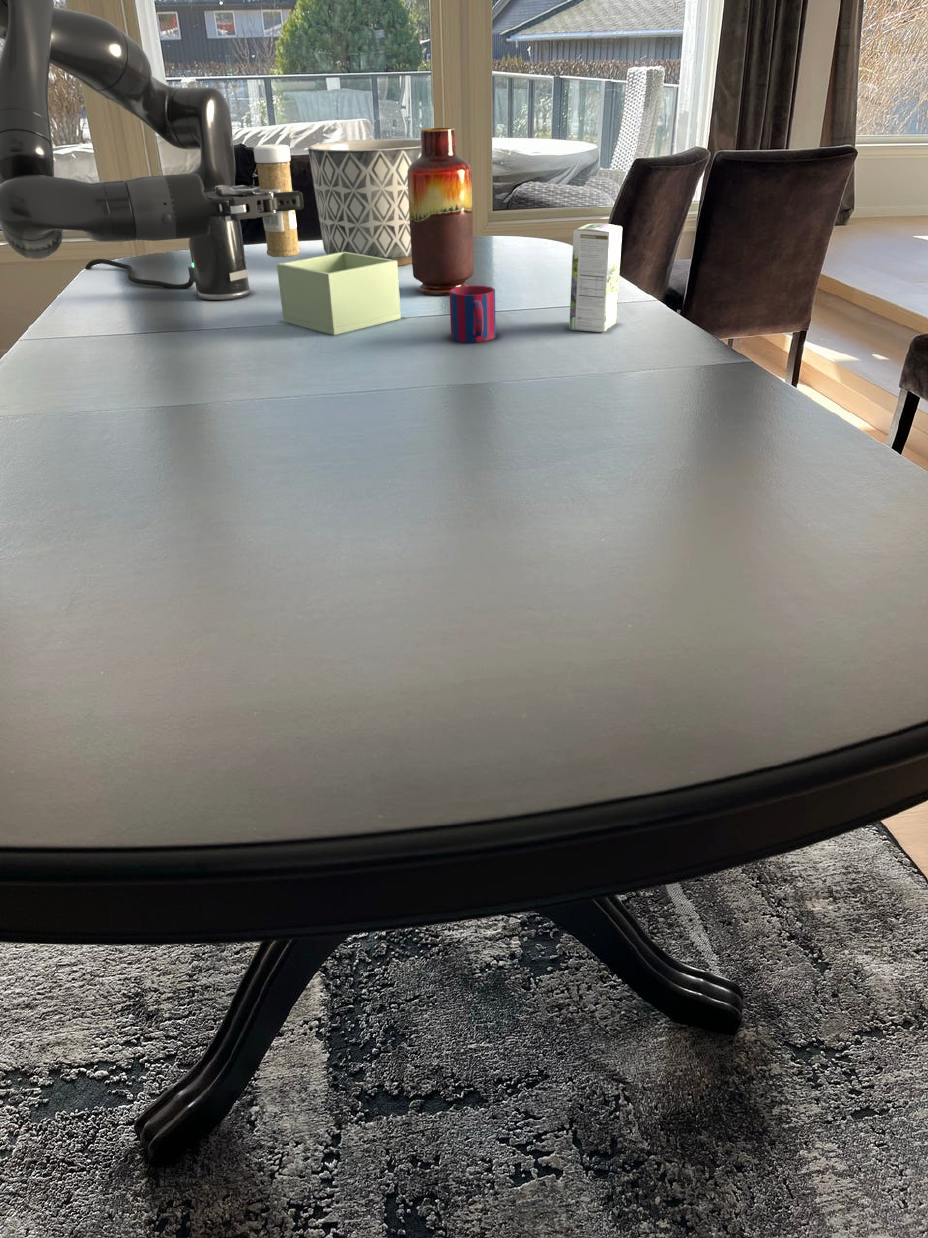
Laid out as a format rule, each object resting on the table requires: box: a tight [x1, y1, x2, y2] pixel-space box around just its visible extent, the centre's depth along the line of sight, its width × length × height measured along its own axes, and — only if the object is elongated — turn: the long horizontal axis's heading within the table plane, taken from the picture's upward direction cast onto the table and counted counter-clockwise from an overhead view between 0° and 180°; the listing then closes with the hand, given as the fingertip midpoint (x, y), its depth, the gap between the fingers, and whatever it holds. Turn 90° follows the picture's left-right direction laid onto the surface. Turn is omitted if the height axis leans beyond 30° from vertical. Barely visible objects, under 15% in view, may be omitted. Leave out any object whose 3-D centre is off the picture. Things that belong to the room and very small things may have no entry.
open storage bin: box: [276, 252, 402, 336], centre depth 151 cm, size 14×14×9 cm
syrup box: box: [568, 222, 623, 333], centre depth 141 cm, size 6×6×14 cm
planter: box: [307, 138, 421, 266], centre depth 193 cm, size 26×26×22 cm
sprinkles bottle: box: [253, 143, 301, 258], centre depth 125 cm, size 5×5×13 cm
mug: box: [449, 285, 497, 344], centre depth 139 cm, size 7×10×7 cm
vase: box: [407, 127, 474, 297], centre depth 164 cm, size 11×11×26 cm
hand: (297, 197), depth 126 cm, fingers closed on sprinkles bottle, 4 cm apart
